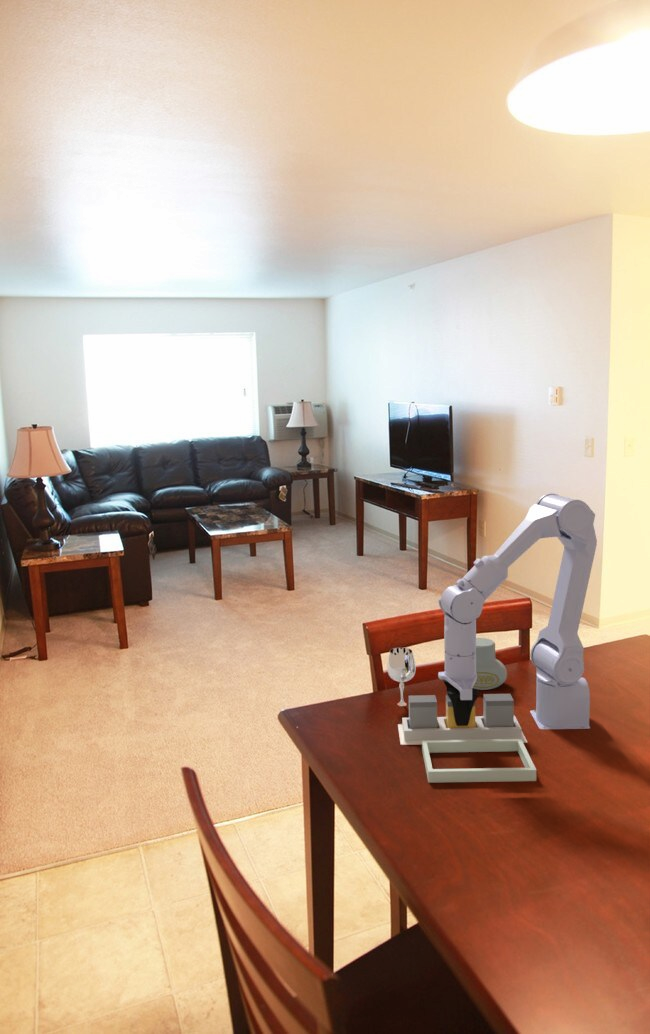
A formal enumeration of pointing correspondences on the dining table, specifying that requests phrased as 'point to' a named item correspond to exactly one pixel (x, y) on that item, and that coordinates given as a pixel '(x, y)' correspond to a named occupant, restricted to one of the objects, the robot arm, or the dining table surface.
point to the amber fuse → (451, 719)
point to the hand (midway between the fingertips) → (460, 720)
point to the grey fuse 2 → (498, 710)
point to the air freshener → (488, 666)
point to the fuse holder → (457, 732)
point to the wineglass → (401, 667)
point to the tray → (478, 773)
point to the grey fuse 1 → (422, 712)
